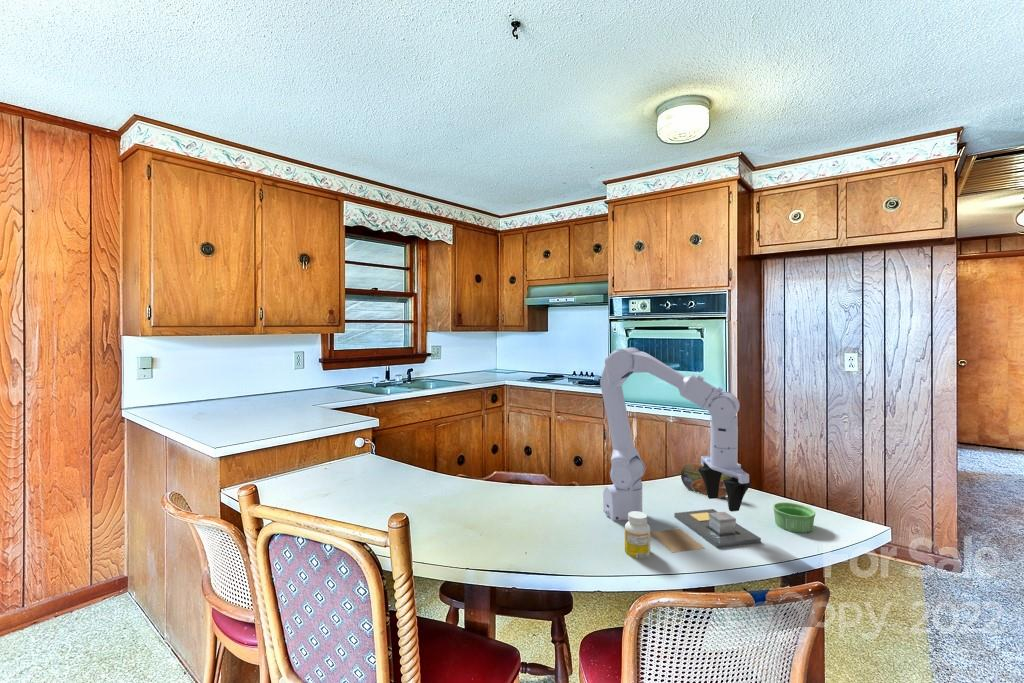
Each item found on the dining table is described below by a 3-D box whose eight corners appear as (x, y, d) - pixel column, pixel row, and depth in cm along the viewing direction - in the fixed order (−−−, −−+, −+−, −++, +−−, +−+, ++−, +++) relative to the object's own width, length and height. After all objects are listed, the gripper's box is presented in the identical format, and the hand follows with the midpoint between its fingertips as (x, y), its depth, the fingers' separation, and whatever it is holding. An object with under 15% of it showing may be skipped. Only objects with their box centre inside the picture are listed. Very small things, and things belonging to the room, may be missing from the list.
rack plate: (716, 554, 104) (717, 542, 103) (674, 522, 120) (674, 512, 120) (760, 549, 106) (760, 537, 106) (713, 518, 122) (713, 508, 122)
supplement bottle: (643, 567, 99) (643, 522, 98) (620, 559, 102) (620, 515, 102) (654, 557, 103) (654, 513, 102) (631, 550, 106) (631, 507, 106)
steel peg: (719, 546, 108) (719, 520, 107) (708, 538, 112) (708, 513, 111) (735, 544, 108) (735, 518, 108) (724, 536, 112) (724, 511, 112)
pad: (671, 559, 102) (672, 552, 102) (648, 538, 112) (648, 532, 112) (705, 555, 104) (705, 548, 103) (679, 535, 113) (679, 528, 113)
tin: (680, 488, 145) (680, 460, 145) (685, 485, 147) (685, 458, 147) (730, 501, 134) (730, 472, 134) (734, 498, 136) (735, 469, 136)
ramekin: (824, 532, 114) (824, 514, 114) (791, 536, 112) (791, 517, 112) (795, 517, 123) (796, 501, 123) (764, 520, 121) (765, 503, 121)
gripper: (761, 453, 103) (760, 515, 104) (719, 437, 117) (718, 491, 118) (733, 455, 101) (732, 518, 102) (693, 439, 116) (692, 494, 116)
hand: (723, 504), depth 110 cm, fingers open, 7 cm apart
